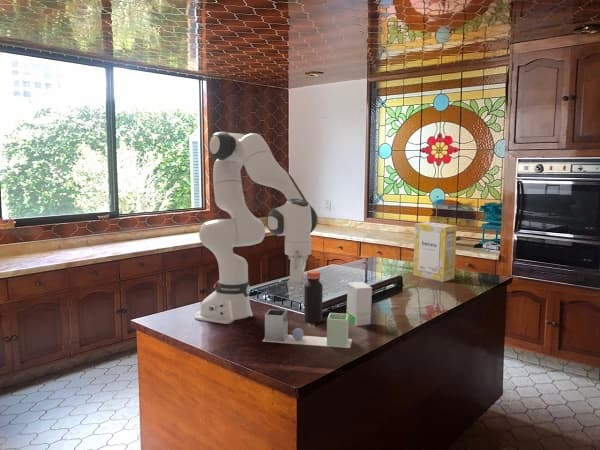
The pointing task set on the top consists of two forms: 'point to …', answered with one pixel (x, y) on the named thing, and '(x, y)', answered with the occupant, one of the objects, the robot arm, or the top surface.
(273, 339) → the tube grey
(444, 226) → the pasta box
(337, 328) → the tube sage
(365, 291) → the skincare box
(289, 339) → the board
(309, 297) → the bottle
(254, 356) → the top surface
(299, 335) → the ball slate
